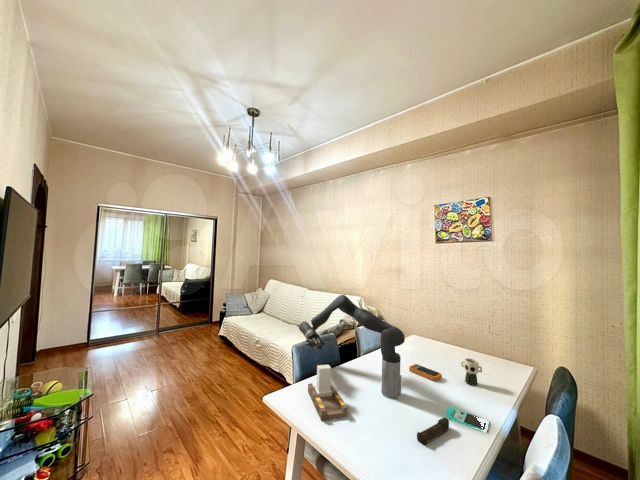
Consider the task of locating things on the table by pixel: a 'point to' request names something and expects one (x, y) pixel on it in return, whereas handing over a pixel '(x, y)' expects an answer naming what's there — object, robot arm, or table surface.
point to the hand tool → (433, 431)
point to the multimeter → (425, 372)
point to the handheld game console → (464, 418)
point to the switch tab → (323, 381)
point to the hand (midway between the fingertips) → (320, 347)
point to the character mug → (471, 370)
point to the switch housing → (328, 404)
